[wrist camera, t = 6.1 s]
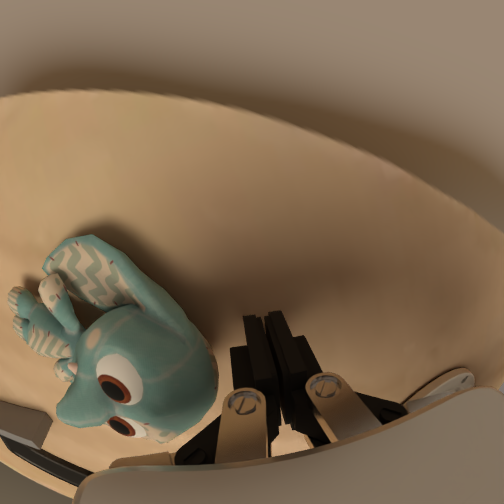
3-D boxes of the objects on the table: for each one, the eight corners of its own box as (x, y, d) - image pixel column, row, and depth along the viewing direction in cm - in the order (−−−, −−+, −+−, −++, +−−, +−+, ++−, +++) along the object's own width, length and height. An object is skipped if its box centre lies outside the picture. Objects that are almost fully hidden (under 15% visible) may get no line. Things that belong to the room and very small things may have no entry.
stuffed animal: (-57, 232, 5) (219, 359, 5) (43, 205, 12) (250, 254, 12) (-1, 412, 8) (188, 513, 8) (56, 355, 15) (213, 416, 14)
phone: (104, 496, 19) (9, 450, 16) (105, 490, 20) (11, 445, 17) (100, 480, 17) (-8, 423, 14) (102, 472, 18) (-5, 417, 15)
